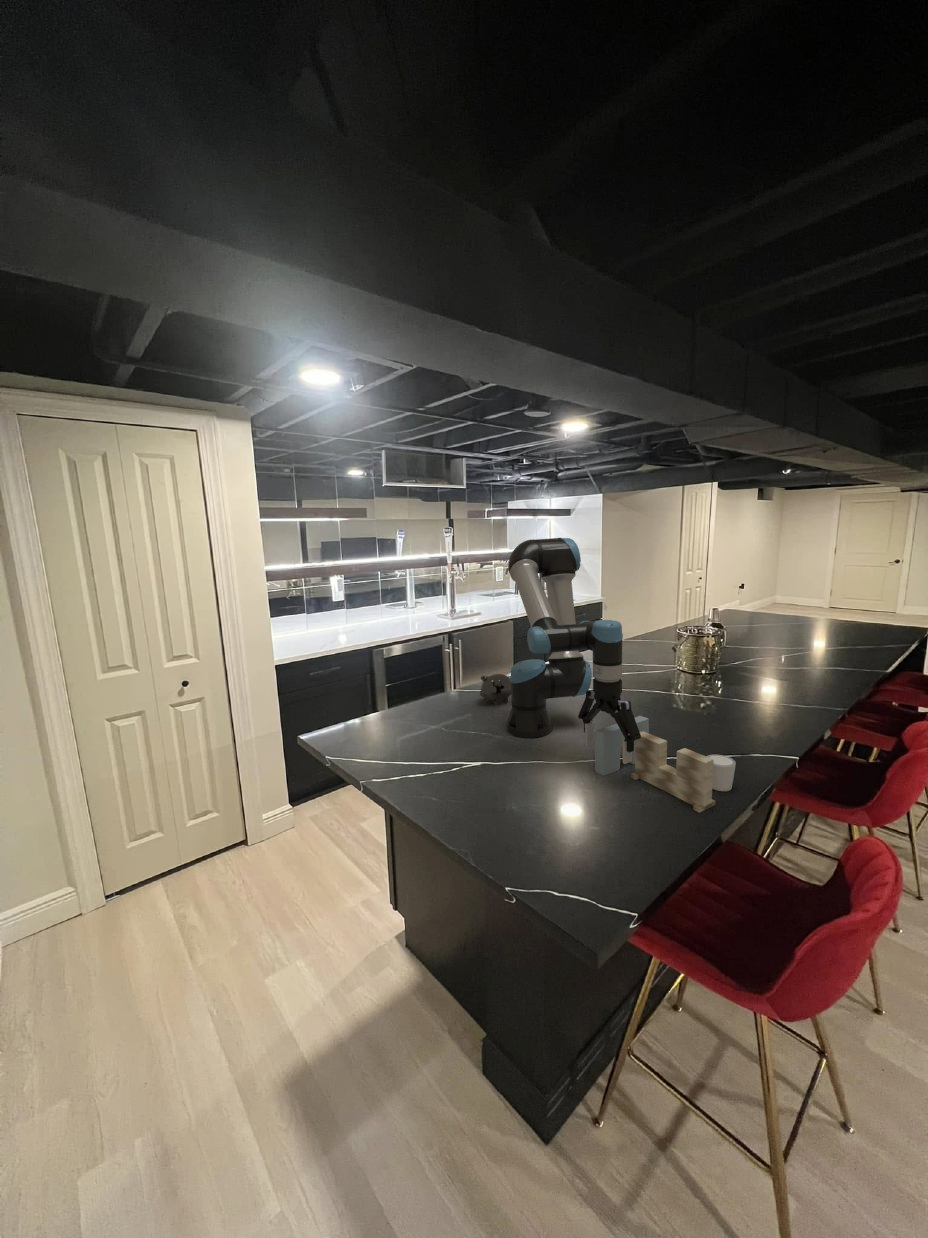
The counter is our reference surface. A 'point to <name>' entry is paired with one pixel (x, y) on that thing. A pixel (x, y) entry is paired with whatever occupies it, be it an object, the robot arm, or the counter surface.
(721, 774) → the white cylinder
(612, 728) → the slotted plate
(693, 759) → the slotted stand
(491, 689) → the grey teddy bear
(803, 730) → the counter surface
